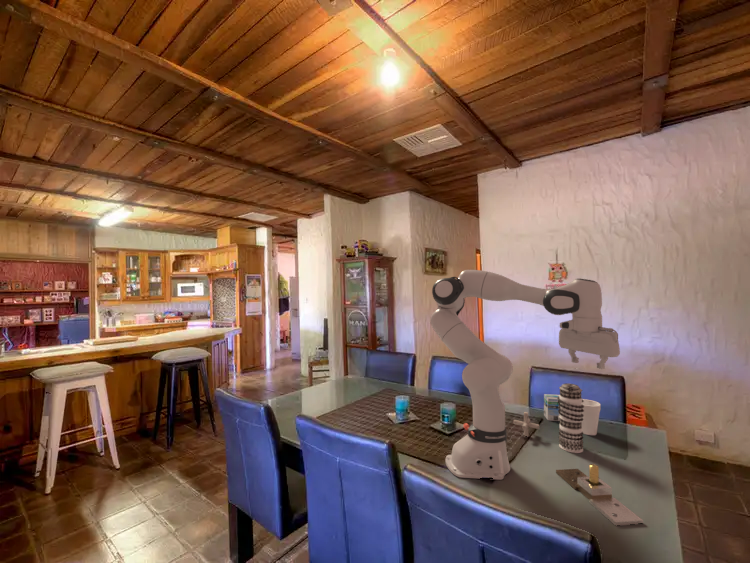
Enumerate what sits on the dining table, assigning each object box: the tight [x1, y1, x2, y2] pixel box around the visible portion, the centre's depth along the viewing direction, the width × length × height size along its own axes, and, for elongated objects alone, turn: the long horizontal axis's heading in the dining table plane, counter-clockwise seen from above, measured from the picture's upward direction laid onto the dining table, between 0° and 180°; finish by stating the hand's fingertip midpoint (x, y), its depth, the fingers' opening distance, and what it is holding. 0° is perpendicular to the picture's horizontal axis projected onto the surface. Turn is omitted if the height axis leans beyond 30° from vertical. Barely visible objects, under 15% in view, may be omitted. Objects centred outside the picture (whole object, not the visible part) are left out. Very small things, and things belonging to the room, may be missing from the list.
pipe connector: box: [513, 411, 540, 438], centre depth 149 cm, size 10×10×10 cm
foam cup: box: [581, 398, 602, 436], centre depth 152 cm, size 10×9×13 cm
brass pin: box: [588, 463, 600, 486], centre depth 107 cm, size 2×2×9 cm
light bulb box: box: [543, 393, 560, 422], centre depth 168 cm, size 11×7×11 cm, turn 81°
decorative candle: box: [557, 383, 584, 454], centre depth 138 cm, size 9×9×25 cm
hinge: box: [555, 468, 644, 527], centre depth 107 cm, size 26×8×4 cm, turn 5°
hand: (587, 365), depth 119 cm, fingers open, 8 cm apart
